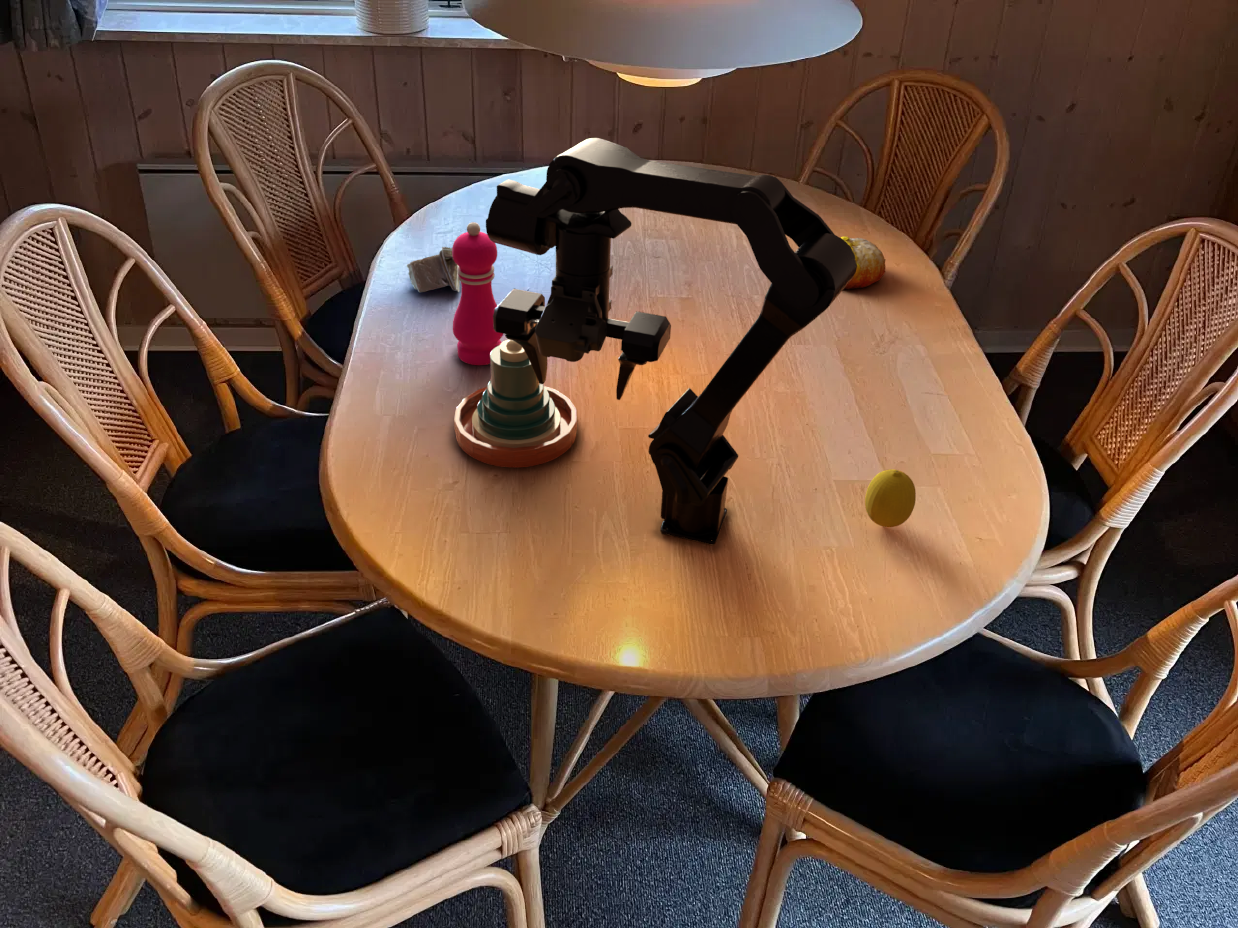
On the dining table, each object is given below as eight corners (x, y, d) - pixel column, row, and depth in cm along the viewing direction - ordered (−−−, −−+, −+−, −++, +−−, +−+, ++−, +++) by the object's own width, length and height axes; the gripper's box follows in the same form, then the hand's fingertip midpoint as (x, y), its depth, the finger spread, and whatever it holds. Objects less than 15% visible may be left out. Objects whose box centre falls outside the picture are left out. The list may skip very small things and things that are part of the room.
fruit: (881, 296, 167) (875, 250, 163) (816, 301, 172) (809, 256, 168) (892, 266, 175) (886, 221, 171) (830, 271, 180) (823, 228, 176)
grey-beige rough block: (416, 263, 172) (392, 238, 161) (457, 251, 172) (436, 225, 160) (429, 317, 171) (406, 296, 159) (470, 305, 170) (451, 283, 159)
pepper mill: (480, 336, 154) (473, 207, 142) (516, 353, 150) (512, 222, 138) (443, 355, 149) (433, 223, 137) (479, 373, 146) (472, 239, 134)
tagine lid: (572, 411, 137) (573, 326, 130) (542, 459, 128) (541, 371, 121) (493, 394, 140) (489, 310, 132) (458, 440, 131) (451, 353, 123)
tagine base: (592, 411, 139) (593, 394, 137) (551, 479, 127) (551, 461, 125) (485, 389, 142) (484, 373, 141) (435, 453, 130) (433, 436, 129)
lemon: (877, 546, 119) (890, 491, 114) (850, 517, 123) (862, 462, 118) (917, 534, 121) (932, 479, 116) (889, 506, 125) (902, 452, 120)
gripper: (468, 282, 106) (476, 411, 115) (646, 315, 101) (639, 446, 111) (511, 238, 114) (514, 361, 124) (676, 267, 110) (667, 392, 119)
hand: (580, 390), depth 119 cm, fingers open, 9 cm apart
